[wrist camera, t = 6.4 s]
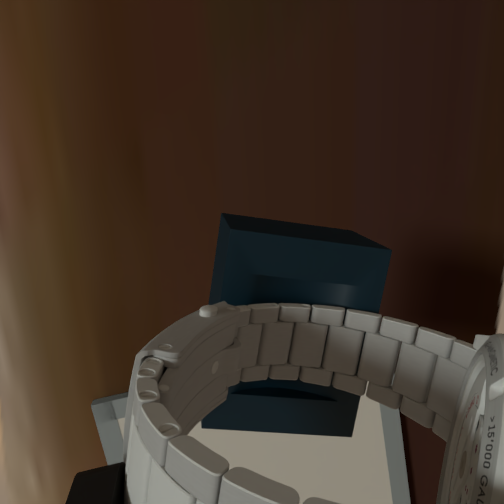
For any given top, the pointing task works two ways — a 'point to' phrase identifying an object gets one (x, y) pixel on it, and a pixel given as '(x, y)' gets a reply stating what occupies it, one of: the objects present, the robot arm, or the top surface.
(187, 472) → the watch
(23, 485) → the top surface
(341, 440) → the mat
